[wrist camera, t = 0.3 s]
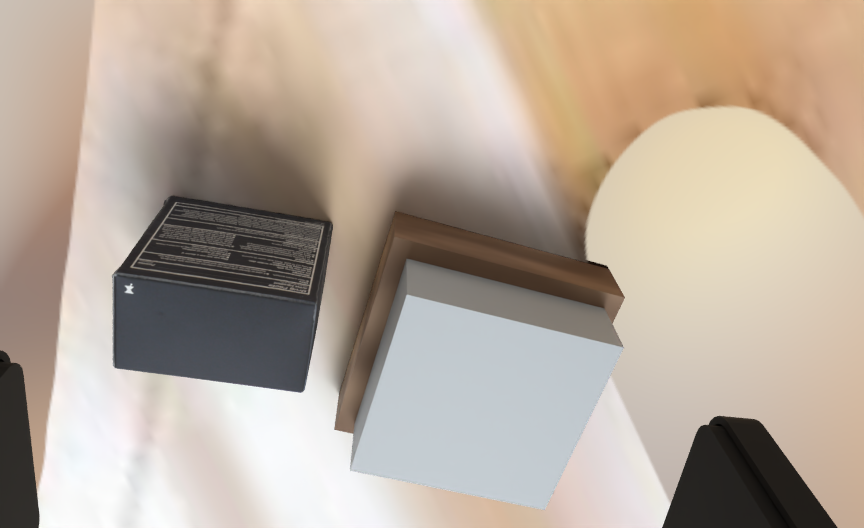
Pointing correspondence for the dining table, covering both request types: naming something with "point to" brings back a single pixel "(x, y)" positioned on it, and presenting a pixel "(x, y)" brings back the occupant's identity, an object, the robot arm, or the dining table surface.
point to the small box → (222, 295)
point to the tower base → (468, 257)
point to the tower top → (481, 386)
